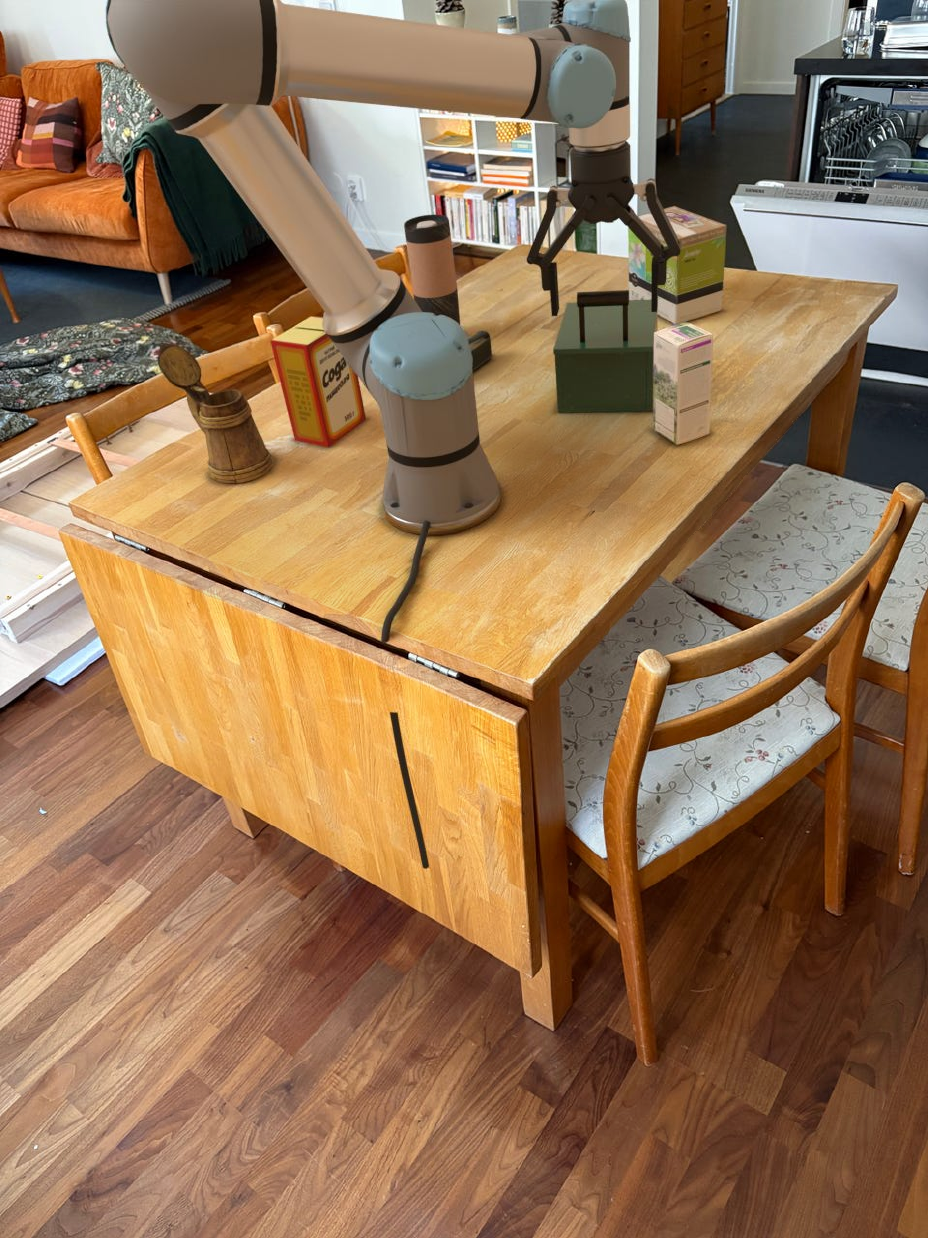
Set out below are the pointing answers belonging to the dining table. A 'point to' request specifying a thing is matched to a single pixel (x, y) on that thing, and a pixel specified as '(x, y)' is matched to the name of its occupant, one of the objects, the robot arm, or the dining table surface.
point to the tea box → (682, 267)
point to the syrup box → (682, 382)
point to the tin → (605, 381)
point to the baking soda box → (317, 384)
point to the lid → (606, 324)
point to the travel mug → (432, 265)
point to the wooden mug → (218, 420)
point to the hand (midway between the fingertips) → (604, 310)
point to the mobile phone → (480, 348)
